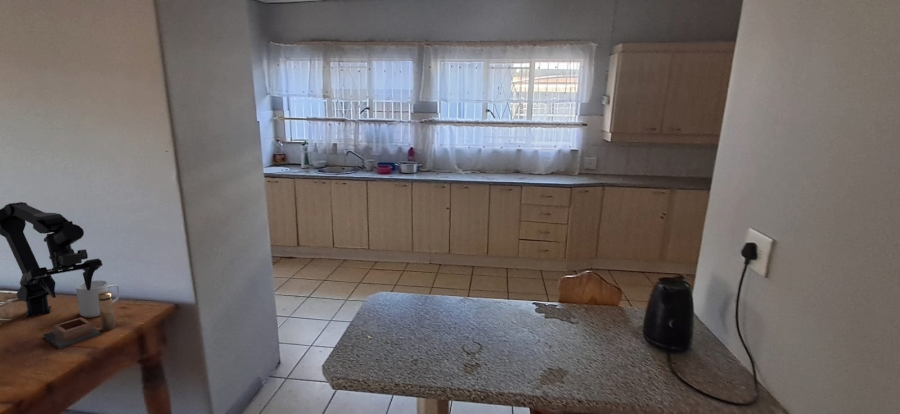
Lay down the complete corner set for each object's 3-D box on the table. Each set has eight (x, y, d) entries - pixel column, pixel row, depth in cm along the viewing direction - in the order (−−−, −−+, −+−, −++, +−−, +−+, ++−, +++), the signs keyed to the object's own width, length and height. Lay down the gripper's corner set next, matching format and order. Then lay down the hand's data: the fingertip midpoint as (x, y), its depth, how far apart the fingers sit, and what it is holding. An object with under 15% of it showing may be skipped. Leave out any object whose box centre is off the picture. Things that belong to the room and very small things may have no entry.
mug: (80, 320, 154) (76, 291, 152) (78, 311, 160) (75, 283, 158) (121, 312, 162) (119, 284, 160) (119, 304, 168) (116, 277, 166)
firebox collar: (43, 337, 142) (41, 326, 141) (84, 324, 151) (83, 314, 150) (59, 348, 136) (57, 337, 135) (100, 334, 145) (99, 324, 145)
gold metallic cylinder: (101, 327, 150) (97, 292, 147) (114, 325, 152) (111, 290, 150) (102, 332, 147) (98, 296, 145) (115, 329, 150) (111, 294, 147)
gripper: (30, 247, 134) (43, 295, 132) (102, 238, 150) (114, 280, 148) (20, 257, 139) (32, 304, 138) (90, 247, 155) (101, 289, 154)
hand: (72, 293), depth 144 cm, fingers open, 9 cm apart
